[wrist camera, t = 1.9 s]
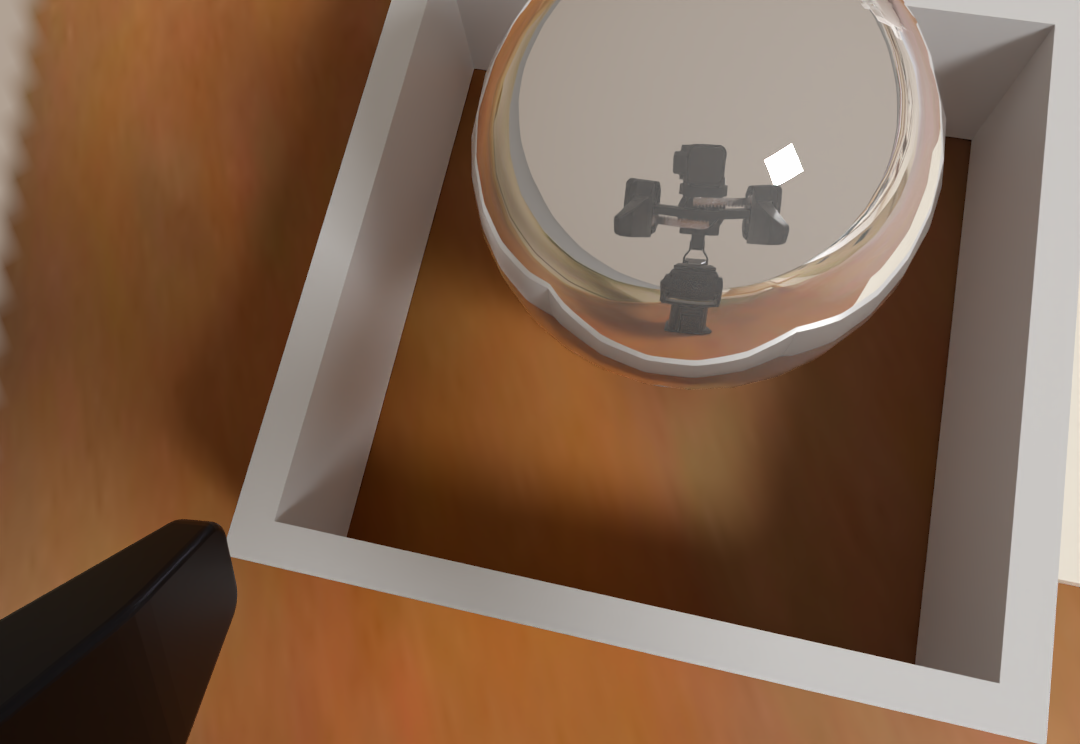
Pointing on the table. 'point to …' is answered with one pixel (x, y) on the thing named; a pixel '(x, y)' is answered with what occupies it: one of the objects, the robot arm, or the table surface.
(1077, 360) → the cream board
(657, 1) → the light bulb
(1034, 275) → the grey box
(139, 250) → the table surface
